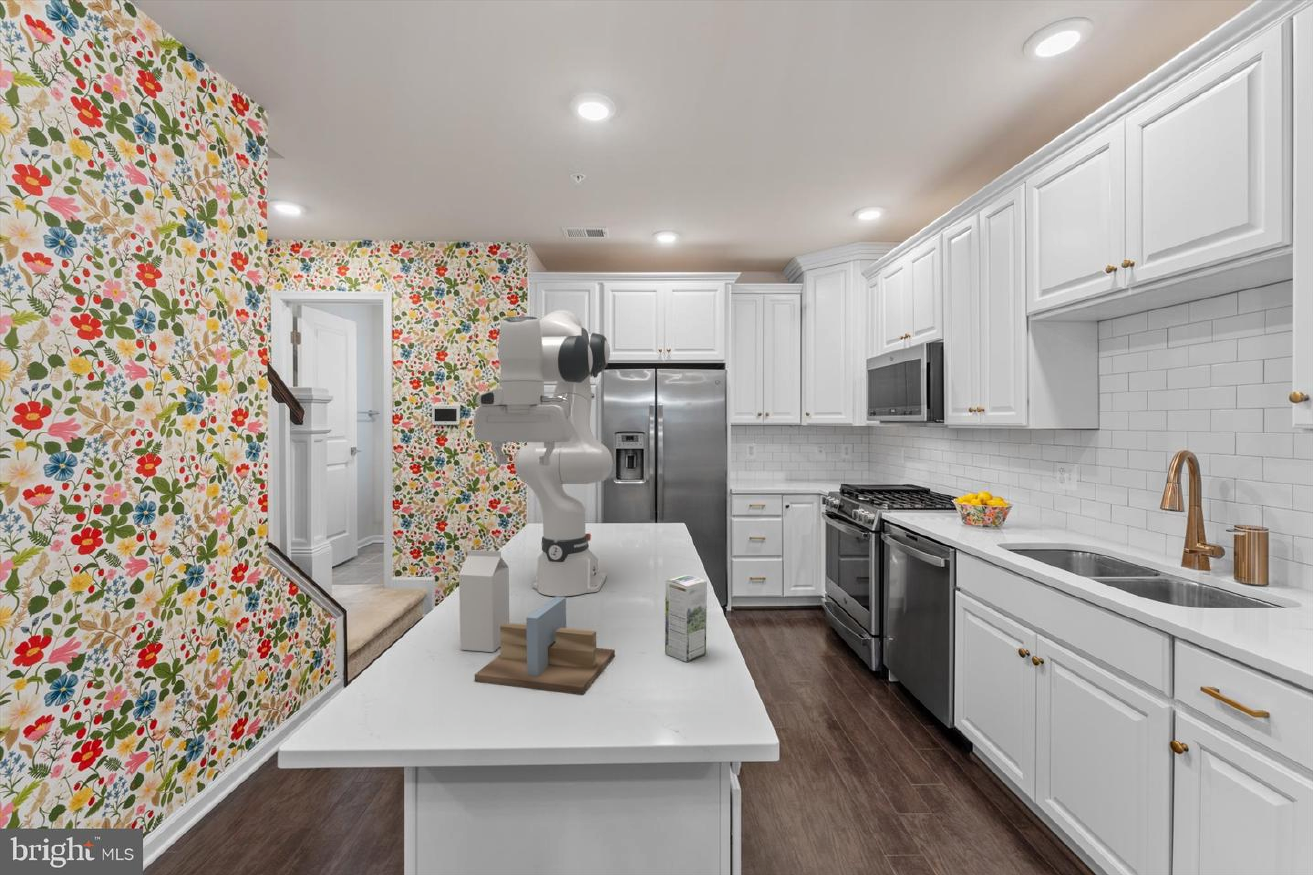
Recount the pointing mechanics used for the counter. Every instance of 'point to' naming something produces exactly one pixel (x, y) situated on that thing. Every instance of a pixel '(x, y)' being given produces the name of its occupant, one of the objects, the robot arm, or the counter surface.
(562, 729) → the counter surface
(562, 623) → the slotted plate
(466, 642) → the milk carton
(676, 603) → the syrup box
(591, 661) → the rail stand
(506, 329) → the robot arm
